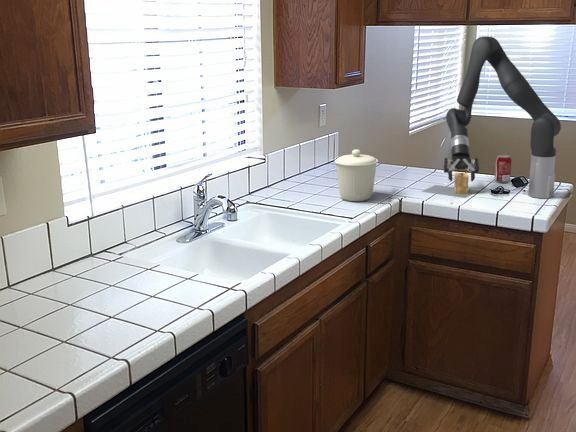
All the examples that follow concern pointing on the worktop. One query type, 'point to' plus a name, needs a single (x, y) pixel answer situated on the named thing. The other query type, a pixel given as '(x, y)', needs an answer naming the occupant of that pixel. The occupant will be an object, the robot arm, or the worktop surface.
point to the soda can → (503, 169)
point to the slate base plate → (447, 191)
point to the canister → (356, 176)
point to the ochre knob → (461, 183)
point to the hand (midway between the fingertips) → (461, 180)
